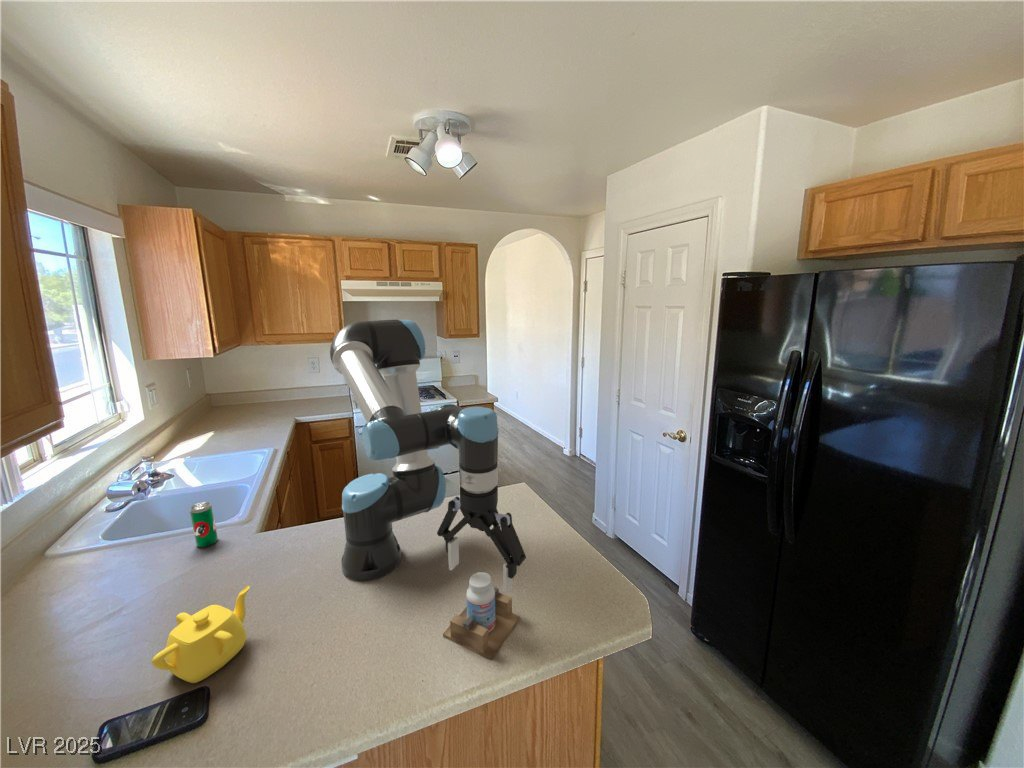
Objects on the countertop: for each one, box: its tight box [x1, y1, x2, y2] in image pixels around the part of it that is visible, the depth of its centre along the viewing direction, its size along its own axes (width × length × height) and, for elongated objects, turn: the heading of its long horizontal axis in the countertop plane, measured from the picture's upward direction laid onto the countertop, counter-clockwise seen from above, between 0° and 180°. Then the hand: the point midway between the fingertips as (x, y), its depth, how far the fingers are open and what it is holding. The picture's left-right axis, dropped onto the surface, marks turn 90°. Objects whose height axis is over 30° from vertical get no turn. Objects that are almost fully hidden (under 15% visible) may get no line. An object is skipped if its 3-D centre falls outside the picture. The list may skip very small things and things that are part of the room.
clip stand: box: [442, 586, 521, 661], centre depth 87 cm, size 12×12×6 cm
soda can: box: [189, 501, 219, 548], centre depth 116 cm, size 5×5×12 cm
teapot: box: [151, 585, 251, 684], centre depth 79 cm, size 14×13×10 cm
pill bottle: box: [465, 571, 495, 633], centre depth 86 cm, size 6×6×11 cm
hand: (479, 577), depth 85 cm, fingers open, 13 cm apart
